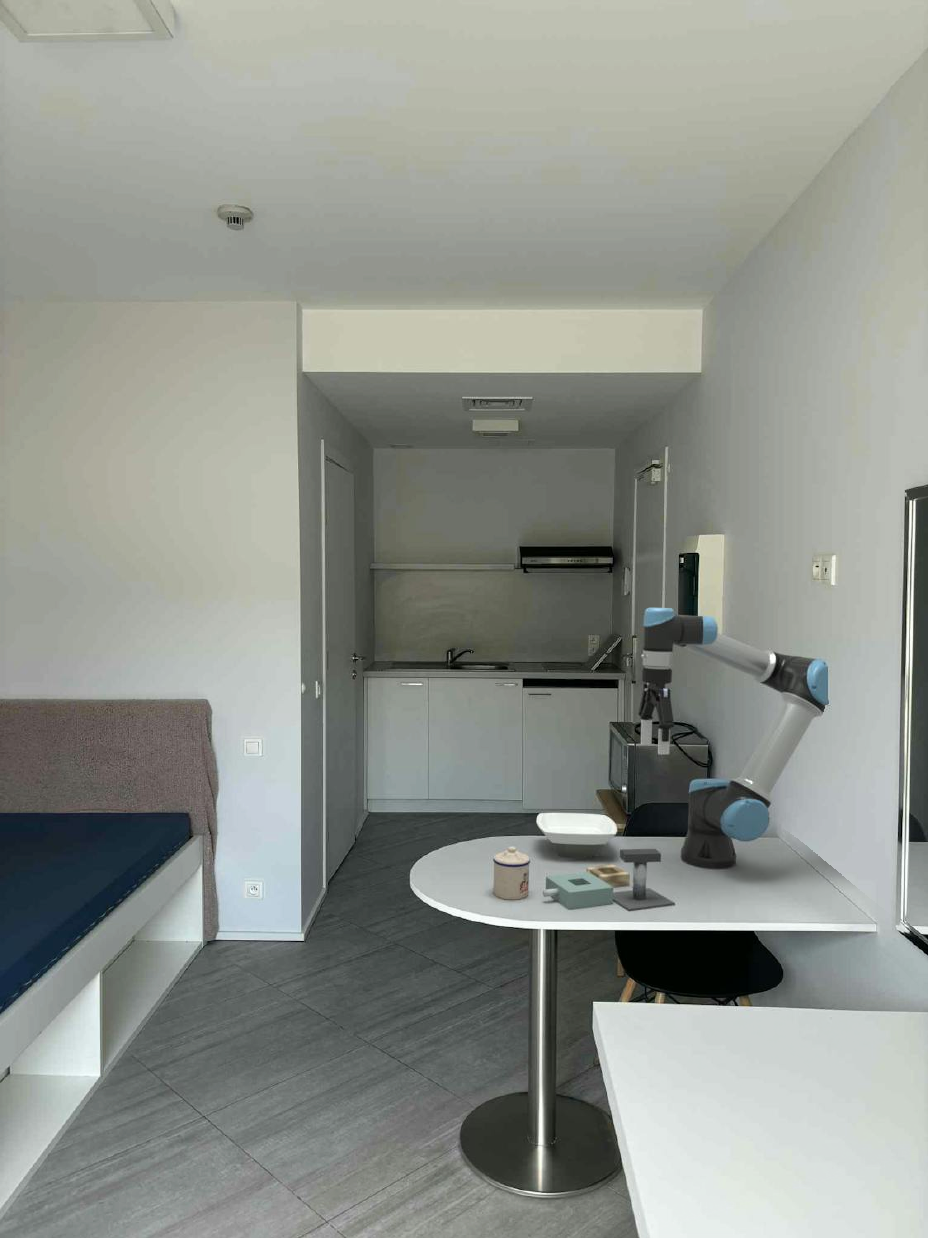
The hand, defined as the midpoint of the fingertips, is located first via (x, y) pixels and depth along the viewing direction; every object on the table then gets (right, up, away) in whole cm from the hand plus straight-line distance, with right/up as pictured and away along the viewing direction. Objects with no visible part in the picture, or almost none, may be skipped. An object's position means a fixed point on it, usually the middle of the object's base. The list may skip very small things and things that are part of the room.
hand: (654, 749), depth 230 cm
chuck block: (-23, -35, -13) cm, 43 cm away
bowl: (-17, -34, +26) cm, 46 cm away
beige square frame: (-12, -34, 0) cm, 37 cm away
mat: (-6, -35, -13) cm, 38 cm away
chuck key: (-7, -35, -13) cm, 37 cm away
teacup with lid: (-38, -34, -9) cm, 52 cm away
